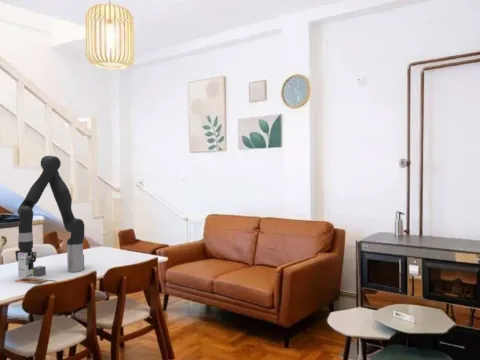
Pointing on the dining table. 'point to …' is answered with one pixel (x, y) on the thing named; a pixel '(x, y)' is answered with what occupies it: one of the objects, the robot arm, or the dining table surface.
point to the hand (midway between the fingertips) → (26, 268)
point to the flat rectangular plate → (33, 280)
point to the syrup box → (24, 266)
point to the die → (39, 271)
